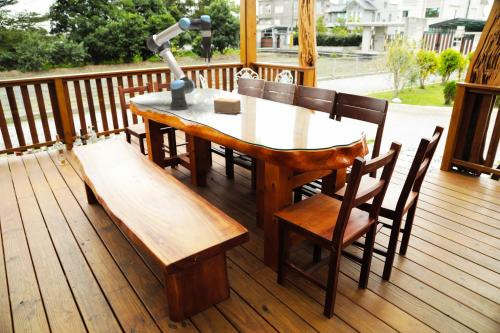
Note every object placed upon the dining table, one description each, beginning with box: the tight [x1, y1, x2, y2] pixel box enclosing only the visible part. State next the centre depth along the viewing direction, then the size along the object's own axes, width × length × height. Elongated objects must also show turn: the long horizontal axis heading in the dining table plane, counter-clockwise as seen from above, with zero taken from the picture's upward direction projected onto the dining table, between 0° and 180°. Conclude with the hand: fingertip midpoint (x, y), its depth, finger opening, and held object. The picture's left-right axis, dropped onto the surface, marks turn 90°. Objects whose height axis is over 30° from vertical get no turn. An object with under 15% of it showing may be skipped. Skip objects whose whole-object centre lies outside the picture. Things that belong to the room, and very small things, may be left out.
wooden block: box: [213, 97, 242, 115], centre depth 265 cm, size 10×10×20 cm
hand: (208, 66), depth 275 cm, fingers closed
